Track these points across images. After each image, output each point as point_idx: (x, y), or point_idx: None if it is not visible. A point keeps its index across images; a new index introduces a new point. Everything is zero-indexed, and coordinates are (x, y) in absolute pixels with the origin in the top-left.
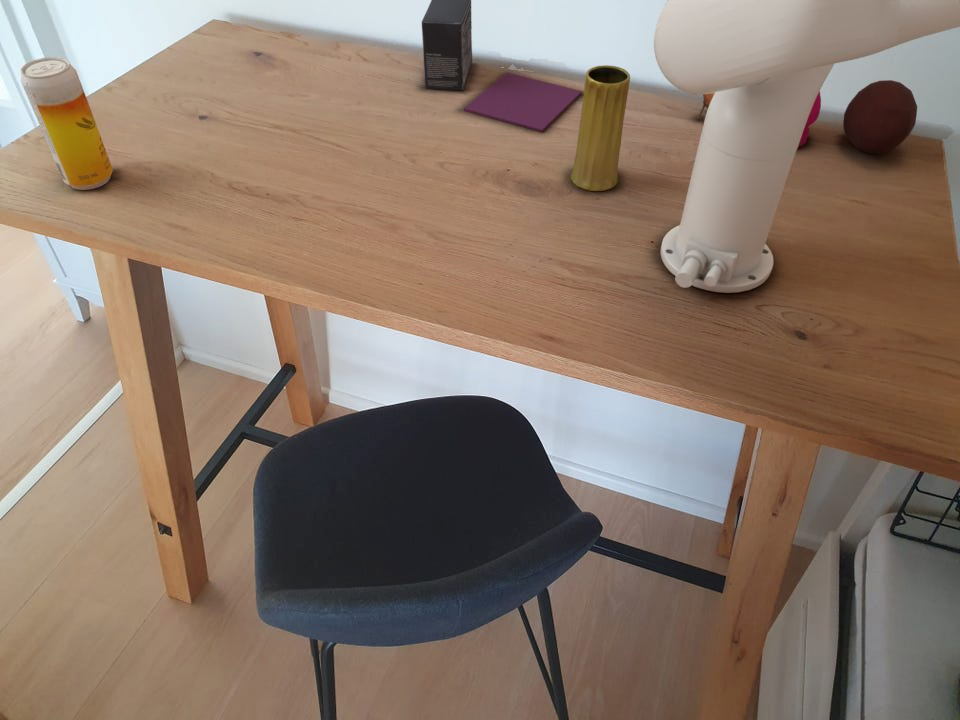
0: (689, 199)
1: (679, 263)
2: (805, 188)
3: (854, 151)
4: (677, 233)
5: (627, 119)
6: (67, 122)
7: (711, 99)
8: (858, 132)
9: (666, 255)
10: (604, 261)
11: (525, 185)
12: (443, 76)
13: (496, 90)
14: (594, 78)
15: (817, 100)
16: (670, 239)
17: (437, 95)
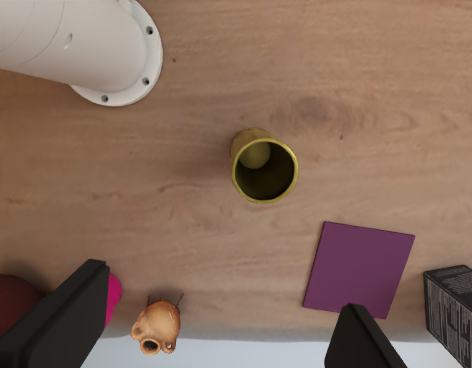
0: (111, 1)
1: (134, 11)
2: (63, 208)
3: (37, 285)
4: (149, 66)
5: (247, 273)
6: None
7: (167, 306)
8: (16, 287)
9: (150, 22)
10: (209, 7)
11: (317, 116)
12: (456, 276)
13: (389, 281)
14: (284, 185)
15: None
16: (153, 53)
17: (448, 255)
